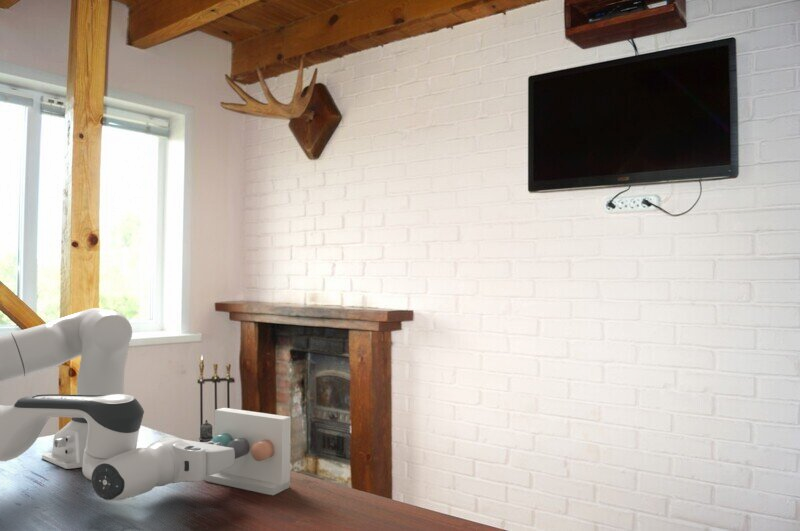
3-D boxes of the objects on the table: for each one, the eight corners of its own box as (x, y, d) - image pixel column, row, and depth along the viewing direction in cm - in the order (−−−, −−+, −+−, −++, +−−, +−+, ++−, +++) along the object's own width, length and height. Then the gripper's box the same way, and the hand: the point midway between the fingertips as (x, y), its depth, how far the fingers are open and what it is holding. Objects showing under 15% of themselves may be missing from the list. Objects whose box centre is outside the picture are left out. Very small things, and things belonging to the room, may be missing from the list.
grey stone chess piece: (210, 472, 153) (211, 423, 153) (188, 470, 154) (189, 421, 154) (222, 465, 159) (223, 417, 159) (201, 463, 160) (201, 416, 160)
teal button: (210, 452, 145) (210, 435, 146) (219, 449, 148) (220, 432, 148) (223, 454, 144) (224, 437, 144) (232, 451, 146) (233, 434, 146)
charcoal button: (226, 457, 142) (227, 439, 142) (235, 454, 144) (236, 436, 144) (240, 459, 140) (240, 441, 140) (249, 456, 143) (249, 438, 143)
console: (204, 480, 147) (205, 412, 147) (222, 473, 152) (223, 407, 152) (273, 495, 137) (273, 422, 138) (289, 487, 143) (290, 416, 143)
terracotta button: (251, 459, 140) (251, 441, 140) (259, 456, 143) (260, 438, 143) (265, 462, 138) (265, 444, 138) (273, 458, 141) (274, 441, 141)
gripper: (135, 468, 137) (184, 452, 149) (205, 483, 128) (251, 465, 140) (136, 439, 137) (184, 425, 149) (206, 452, 128) (251, 436, 140)
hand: (217, 444), depth 145 cm, fingers closed, pressing on teal button
